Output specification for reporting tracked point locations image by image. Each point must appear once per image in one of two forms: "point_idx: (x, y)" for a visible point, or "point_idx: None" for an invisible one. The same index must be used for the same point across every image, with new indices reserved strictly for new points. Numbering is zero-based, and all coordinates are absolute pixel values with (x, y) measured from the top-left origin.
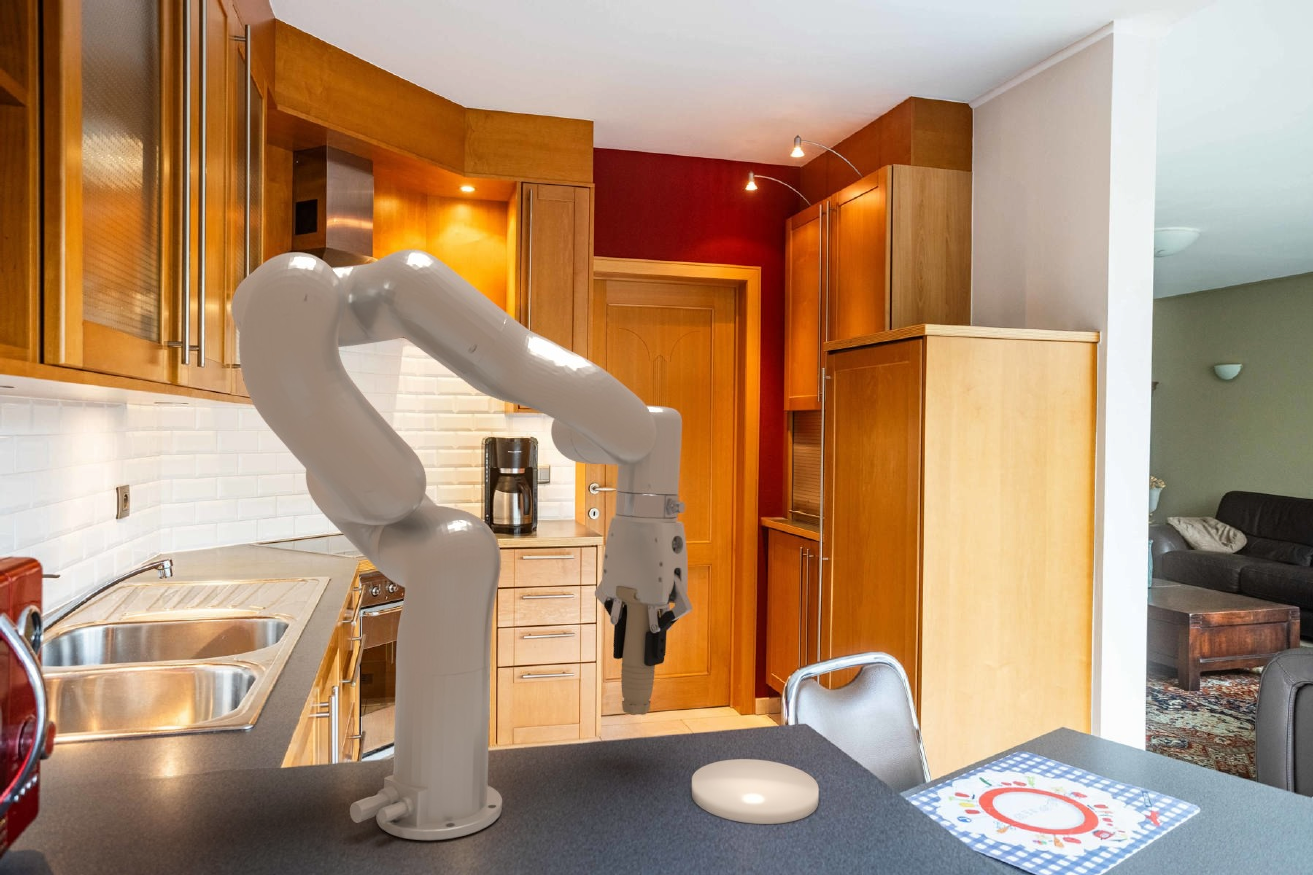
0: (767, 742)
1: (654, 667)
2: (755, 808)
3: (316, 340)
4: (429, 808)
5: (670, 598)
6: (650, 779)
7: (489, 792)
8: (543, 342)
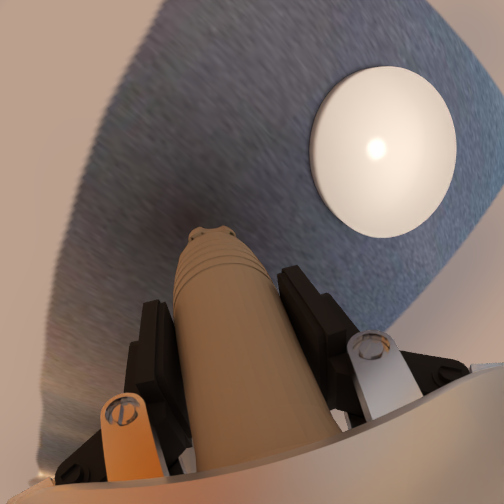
0: None
1: (269, 277)
2: (427, 216)
3: None
4: None
5: (427, 411)
6: (254, 220)
7: None
8: None
